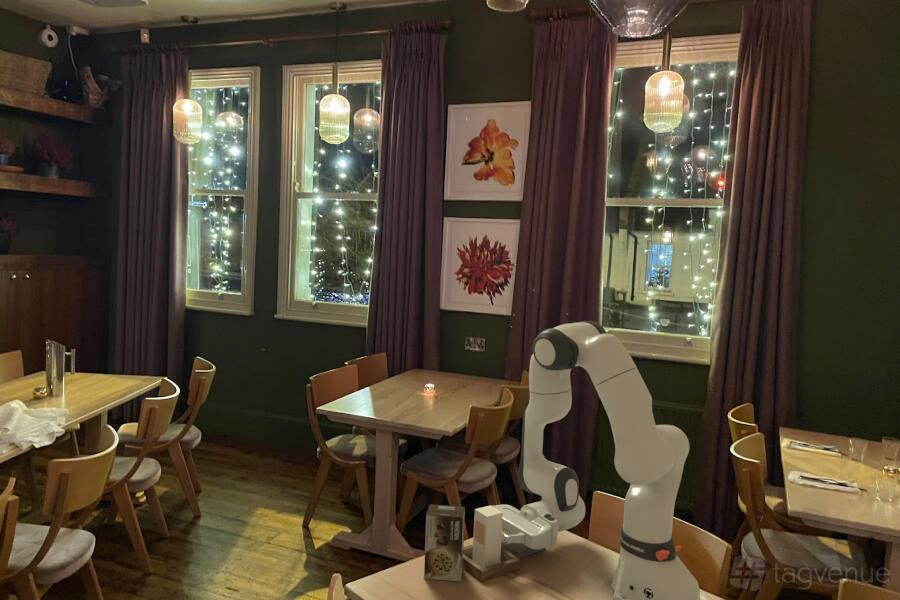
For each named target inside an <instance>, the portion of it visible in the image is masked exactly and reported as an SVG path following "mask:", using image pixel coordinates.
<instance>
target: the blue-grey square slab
mask: <svg viewBox="0 0 900 600" xmlns="http://www.w3.org/2000/svg"><path fill="white" fill-rule="evenodd" d="M506 534H507V533H503V534H502V539H501V547H502V548H504V549H506V550H507V551H509V552H510V553H512V554H513V555H515V556H516V557H518V558H522V557H526V556H529V555H531V554H534V553H538V552H541V551H544V550H546V548H543V549H539V550H535V549H531V548H529V547H528V546H526V545H525V544H523V543H510V544H507V543H506V542H505V541H504V535H506Z"/></svg>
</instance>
